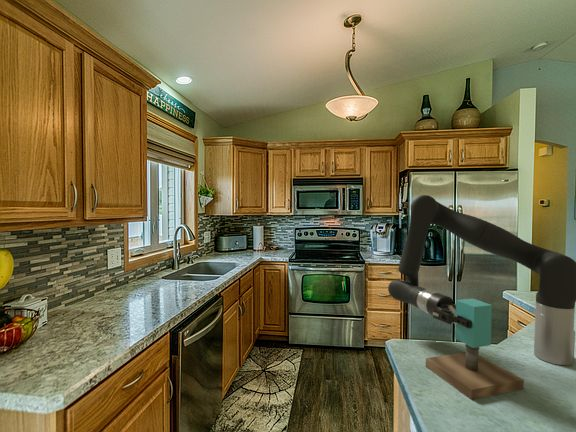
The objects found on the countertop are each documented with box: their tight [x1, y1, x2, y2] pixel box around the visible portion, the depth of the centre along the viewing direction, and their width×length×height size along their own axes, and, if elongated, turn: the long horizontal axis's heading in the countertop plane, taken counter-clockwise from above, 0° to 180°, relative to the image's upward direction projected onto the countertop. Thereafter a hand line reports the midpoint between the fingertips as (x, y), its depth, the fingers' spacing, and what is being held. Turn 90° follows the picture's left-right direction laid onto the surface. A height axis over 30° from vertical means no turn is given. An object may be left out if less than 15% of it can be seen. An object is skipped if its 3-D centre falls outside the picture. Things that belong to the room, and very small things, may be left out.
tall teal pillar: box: [454, 298, 493, 348], centre depth 85 cm, size 6×6×11 cm
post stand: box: [425, 344, 525, 400], centre depth 85 cm, size 17×16×12 cm
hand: (480, 323), depth 83 cm, fingers closed on tall teal pillar, 6 cm apart
